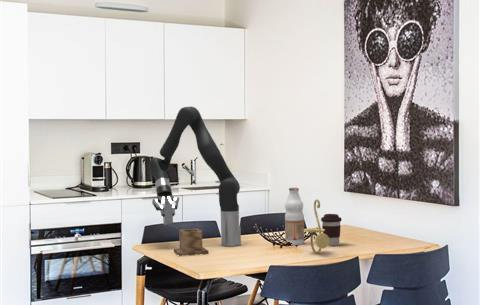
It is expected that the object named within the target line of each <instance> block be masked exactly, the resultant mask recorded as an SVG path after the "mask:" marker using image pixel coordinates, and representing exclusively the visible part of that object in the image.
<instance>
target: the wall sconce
mask: <svg viewBox="0 0 480 305" xmlns="http://www.w3.org/2000/svg"><path fill="white" fill-rule="evenodd" d="M320 208H321V202H320V200H319V199H318V198H317V199H315V200H314V202H313V212H314V216H315V218H316V220H315V221H316V222H317V227H318V228H316V227H315V228H304V232H307V233H311V234H310V246H311V250H312V251H313V253H314V254H316V255H318V254H320V253H321V250H322V249H325V248H327V247H329V246H328V244H329V237H328V236H327V235H326V234H324V233H323V231H325V229H322V228H321V224H320V220H319V215H318V211H317V209H320ZM313 240H314V241H313ZM314 243H315V245H316V247H317V248H318V251H316V249H315V247H314Z"/></svg>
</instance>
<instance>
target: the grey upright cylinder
mask: <svg viewBox="0 0 480 305" xmlns="http://www.w3.org/2000/svg"><path fill="white" fill-rule="evenodd" d="M163 209H164V213H165V216H164V217H163V216H162V218H163V219H162V222H163V223H162V224H163V225H165V226H167V225H174V219H173V218H174V216H173V213H172V212H173V211H172V203H163Z"/></svg>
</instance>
